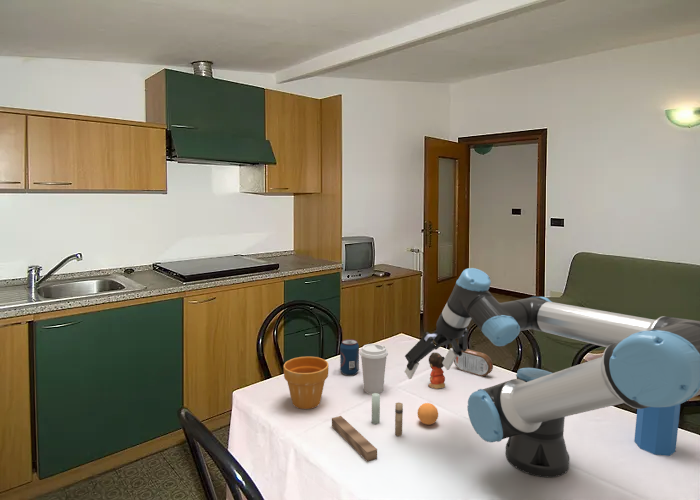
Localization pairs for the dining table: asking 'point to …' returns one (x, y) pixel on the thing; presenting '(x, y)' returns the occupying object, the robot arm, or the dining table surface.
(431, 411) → the ball
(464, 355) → the tin
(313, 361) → the flower pot
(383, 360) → the coffee cup
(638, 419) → the water bottle
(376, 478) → the dining table surface
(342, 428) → the brown wooden bar
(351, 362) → the soda can
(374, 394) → the side pin
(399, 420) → the pin
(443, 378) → the figurine
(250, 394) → the dining table surface
